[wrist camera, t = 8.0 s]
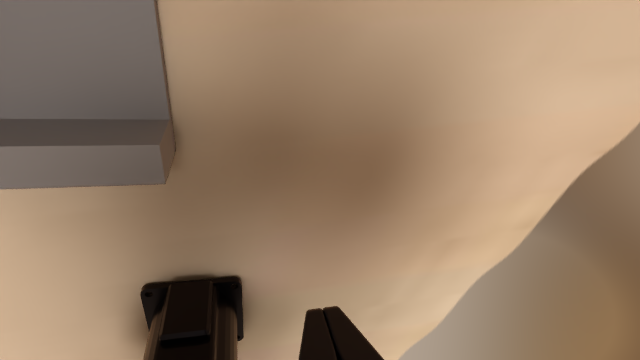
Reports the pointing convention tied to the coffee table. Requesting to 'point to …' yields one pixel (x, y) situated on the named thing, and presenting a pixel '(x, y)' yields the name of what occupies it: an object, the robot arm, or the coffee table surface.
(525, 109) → the coffee table surface
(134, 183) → the chute
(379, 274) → the coffee table surface
